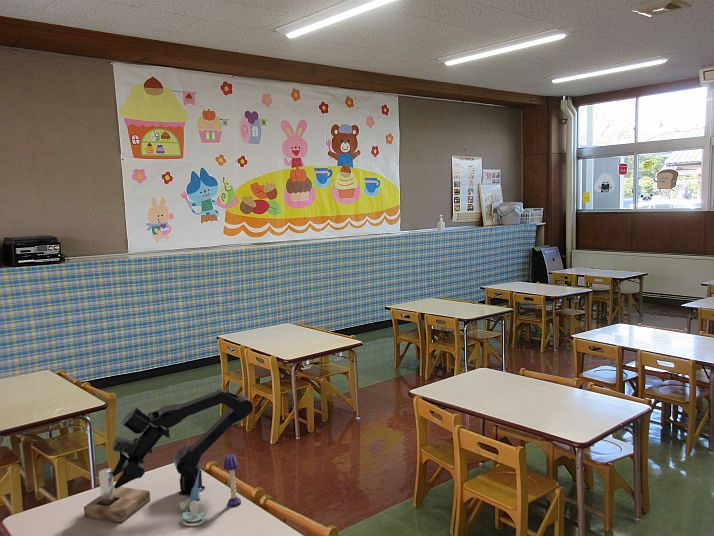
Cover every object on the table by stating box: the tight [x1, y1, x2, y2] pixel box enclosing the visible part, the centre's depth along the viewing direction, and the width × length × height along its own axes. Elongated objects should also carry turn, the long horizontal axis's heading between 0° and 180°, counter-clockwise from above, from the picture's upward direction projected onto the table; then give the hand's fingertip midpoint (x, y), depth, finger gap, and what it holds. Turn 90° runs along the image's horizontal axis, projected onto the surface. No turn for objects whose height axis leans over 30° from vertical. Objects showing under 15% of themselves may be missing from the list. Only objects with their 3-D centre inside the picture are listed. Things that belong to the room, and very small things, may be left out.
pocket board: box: [83, 486, 151, 524], centre depth 191 cm, size 14×14×4 cm
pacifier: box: [182, 500, 208, 527], centre depth 181 cm, size 7×6×6 cm
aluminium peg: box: [98, 467, 115, 506], centre depth 189 cm, size 4×4×13 cm
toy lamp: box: [223, 452, 242, 508], centre depth 191 cm, size 5×5×17 cm
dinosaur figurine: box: [179, 462, 203, 512], centre depth 193 cm, size 3×15×10 cm
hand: (113, 481), depth 189 cm, fingers open, 9 cm apart
